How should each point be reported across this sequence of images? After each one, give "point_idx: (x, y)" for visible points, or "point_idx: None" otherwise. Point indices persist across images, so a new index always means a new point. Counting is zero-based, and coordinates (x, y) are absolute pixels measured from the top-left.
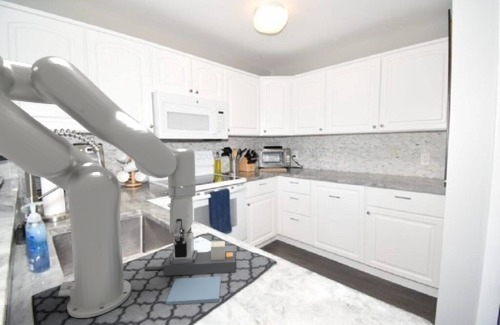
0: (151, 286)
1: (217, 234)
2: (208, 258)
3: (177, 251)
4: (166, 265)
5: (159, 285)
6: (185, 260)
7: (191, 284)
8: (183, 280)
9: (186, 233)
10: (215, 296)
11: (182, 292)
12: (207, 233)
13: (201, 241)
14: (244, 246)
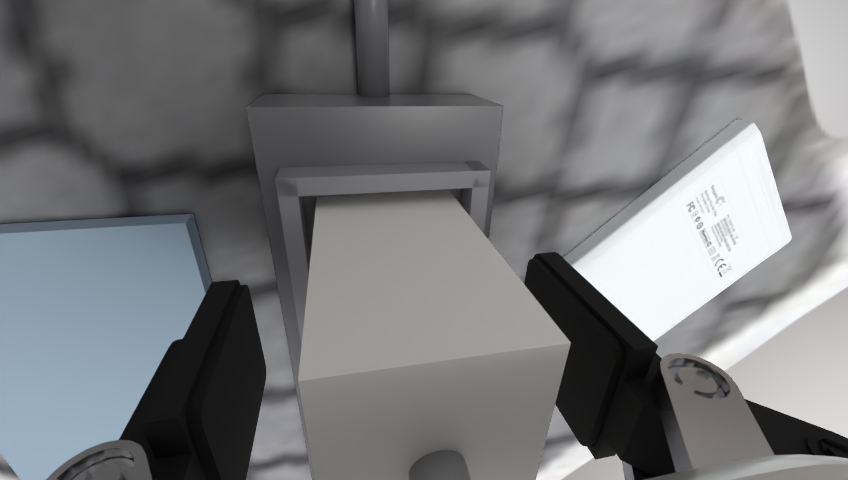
0: (81, 24)
1: (779, 317)
2: None
3: (156, 376)
4: (252, 139)
5: (114, 98)
6: (296, 313)
7: (129, 341)
8: (170, 281)
9: (509, 473)
10: (39, 474)
11: (15, 315)
12: (831, 257)
13: (712, 262)
14: (572, 458)
